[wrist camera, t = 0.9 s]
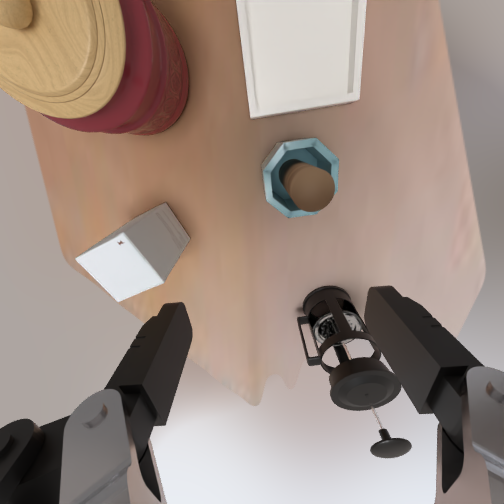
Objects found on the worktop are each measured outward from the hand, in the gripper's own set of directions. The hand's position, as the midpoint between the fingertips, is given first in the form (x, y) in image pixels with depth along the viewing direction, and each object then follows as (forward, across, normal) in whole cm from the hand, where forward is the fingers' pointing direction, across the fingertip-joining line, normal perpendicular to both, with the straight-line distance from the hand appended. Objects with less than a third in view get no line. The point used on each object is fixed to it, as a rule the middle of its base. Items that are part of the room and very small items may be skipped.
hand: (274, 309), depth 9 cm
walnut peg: (+25, -5, -2) cm, 26 cm away
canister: (+26, +14, -15) cm, 33 cm away
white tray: (+26, -6, -17) cm, 32 cm away
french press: (+26, -11, +24) cm, 37 cm away
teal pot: (+26, -5, -2) cm, 27 cm away
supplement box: (+26, +17, +5) cm, 32 cm away
